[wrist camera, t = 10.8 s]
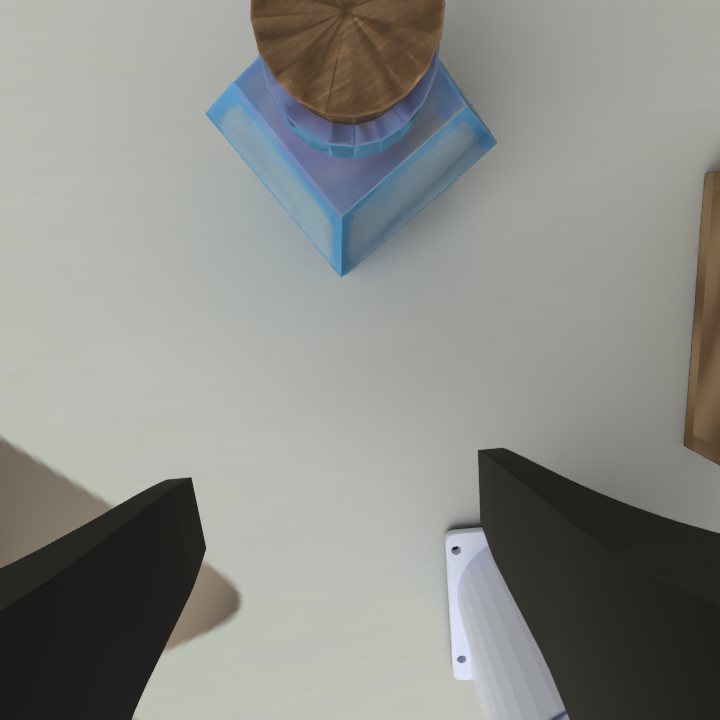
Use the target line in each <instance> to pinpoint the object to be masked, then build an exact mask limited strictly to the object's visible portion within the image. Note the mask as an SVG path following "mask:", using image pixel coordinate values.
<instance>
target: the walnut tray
mask: <svg viewBox="0 0 720 720" xmlns="http://www.w3.org/2000/svg"><path fill="white" fill-rule="evenodd" d="M684 446H685V447H687V448H689V449H691V450H692V451H694V452H696V453H698V454H700V455H702V456H703V457H705V458H707V459H709V460H711V461H713V462H714V463H716V464H718V465H720V170H719V171H715V172H712V173H708V174H705V183H704V196H703V209H702V222H701V234H700V247H699V260H698V273H697V286H696V299H695V311H694V324H693V337H692V350H691V363H690V375H689V388H688V401H687V414H686V427H685V439H684Z"/></svg>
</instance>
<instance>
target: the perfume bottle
mask: <svg viewBox="0 0 720 720" xmlns="http://www.w3.org/2000/svg"><path fill="white" fill-rule="evenodd" d="M444 8H445V0H251V22H252V26H253V30H254V34H255V38H256V42H257V46H258V50H259V57H258V58H257V59H256V60H255V61H254V62H253V63H252V64H251V65H250V66H249V67H248V68H247V69H246V70H245V71H244V72H243V73H242V74H241V75H240V76H239V77H238V78H237V79H236V80H235V81H234V82H233V83H232V84H231V85H230V87H229V88H228V89H227V90H226V91H225V92H224V93H223V94H222V95H221V96H220V98H219V99H218V100H217V101H216V102H215V103H214V104H213V105H212V106H211V108H210V109H209V110H208V111H207V112H206V113H205V114H206V115H207V116H208V117H209V119H210V120H211V121H212V122H213V123H214V125H215V126H216V127H217V128H218V129H219V131H220V132H221V133H222V134H223V136H224V137H225V138H226V139H227V140H228V142H229V143H230V144H231V145H232V146H233V148H234V149H235V150H236V151H237V152H238V154H239V155H240V156H241V157H242V158H243V160H244V161H245V162H246V163H247V164H248V166H249V167H250V168H251V169H252V171H253V172H254V173H255V174H256V175H257V177H258V178H259V179H260V180H261V181H262V183H263V184H264V185H265V186H266V187H267V189H268V190H269V191H270V192H271V193H272V195H273V196H274V197H275V198H276V199H277V201H278V202H279V203H280V204H281V205H282V207H283V208H284V209H285V210H286V212H287V213H288V214H289V215H290V216H291V218H292V219H293V220H294V221H295V222H296V224H297V225H298V226H299V227H300V228H301V230H302V231H303V232H304V233H305V234H306V236H307V237H308V238H309V239H310V240H311V242H312V243H313V244H314V245H315V246H316V248H317V249H318V250H319V251H320V253H321V254H322V255H323V256H324V257H325V259H326V260H327V261H328V262H329V263H330V265H331V266H332V267H333V268H334V269H335V271H336V272H337V273H338V274H339V275H340V277H342V276H344V275H346V274H347V273H348V272H349V271H351V270H352V269H353V268H354V267H355V266H356V265H358V264H359V263H360V262H361V261H362V260H363V259H365V258H366V257H367V256H368V255H369V254H370V253H372V252H373V251H374V250H375V249H376V248H377V247H379V246H380V245H381V244H382V243H383V242H384V241H386V240H387V239H388V238H389V237H390V236H391V235H393V234H394V233H395V232H396V231H397V230H398V229H400V228H401V227H402V226H403V225H404V224H405V223H407V222H408V221H409V220H410V219H411V218H412V217H414V216H415V215H416V214H417V213H418V212H419V211H421V210H422V209H423V208H424V207H425V206H426V205H428V204H429V203H430V202H431V201H432V200H433V199H435V198H436V197H437V196H438V195H439V194H440V193H442V192H443V191H444V190H445V189H446V188H447V187H449V186H450V185H451V184H452V183H453V182H454V181H455V180H456V179H458V178H459V177H460V176H461V175H462V174H463V173H464V172H465V171H466V170H468V169H469V168H470V167H471V166H472V165H473V164H474V163H475V162H476V161H478V160H479V159H480V158H481V157H482V156H483V155H484V154H485V153H486V152H487V151H489V150H490V149H491V148H492V147H493V146H494V145H495V144H496V143H497V141H496V140H495V138H494V137H493V136H492V134H491V133H490V131H489V130H488V128H487V127H486V126H485V124H484V123H483V121H482V120H481V118H480V117H479V116H478V114H477V113H476V111H475V110H474V108H473V107H472V106H471V104H470V103H469V101H468V100H467V98H466V97H465V96H464V94H463V93H462V91H461V90H460V88H459V87H458V86H457V84H456V83H455V81H454V80H453V78H452V77H451V76H450V74H449V73H448V71H447V70H446V68H445V67H444V66H443V64H442V63H441V61H440V60H439V58H438V51H439V42H440V39H441V34H442V26H443V17H444Z"/></svg>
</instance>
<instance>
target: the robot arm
mask: <svg viewBox="0 0 720 720" xmlns="http://www.w3.org/2000/svg"><path fill="white" fill-rule="evenodd" d="M478 462H479V493H480V523H481V526H482V527H479V528H468V529H456V530H451V531H449V532H447V534H446V535H445V552H446V569H447V586H448V603H449V620H450V637H451V655H452V669H453V674H454V677H455V678H456V679H459V680H472V679H473V682H474V685H475V689H476V693H477V696H478V700H479V704H480V707H481V711H482V714H483V718H484V720H720V533H716V532H712V531H709V530H705V529H701V528H698V527H694V526H691V525H687V524H684V523H681V522H677V521H674V520H671V519H668V518H665V517H662V516H659V515H656V514H653V513H650V512H647V511H645V510H642V509H639V508H636V507H633V506H630V505H628V504H625V503H622V502H620V501H617V500H615V499H612V498H610V497H608V496H605V495H603V494H600V493H598V492H596V491H593V490H591V489H589V488H586V487H584V486H582V485H580V484H578V483H575V482H573V481H571V480H569V479H567V478H565V477H563V476H561V475H559V474H557V473H555V472H552V471H550V470H548V469H546V468H544V467H542V466H540V465H538V464H536V463H535V462H533V461H531V460H529V459H527V458H525V457H522V456H520V455H518V454H516V453H514V452H512V451H510V450H507V449H504V448H497V449H486V450H478ZM455 546H458V547H459V548H458V549H456V550H452V548H453V547H455ZM205 551H206V545H205V540H204V536H203V531H202V526H201V521H200V517H199V512H198V507H197V502H196V497H195V493H194V488H193V483H192V478H191V477H190V478H180V479H169V480H165V481H163V482H160V483H158V484H156V485H154V486H152V487H150V488H148V489H146V490H145V491H143V492H141V493H139V494H137V495H136V496H134V497H132V498H130V499H129V500H127V501H125V502H123V503H122V504H120V505H118V506H116V507H115V508H113V509H111V510H109V511H108V512H106V513H104V514H103V515H101V516H99V517H97V518H96V519H94V520H92V521H90V522H89V523H87V524H85V525H83V526H81V527H80V528H78V529H76V530H74V531H72V532H70V533H69V534H67V535H65V536H63V537H61V538H59V539H58V540H56V541H54V542H52V543H51V544H48V545H47V546H45V547H43V548H41V549H39V550H37V551H35V552H33V553H31V554H29V555H27V556H25V557H23V558H21V559H19V560H17V561H15V562H13V563H11V564H9V565H7V566H5V567H3V568H0V720H131V719H132V717H133V714H134V712H135V709H136V707H137V705H138V702H139V700H140V698H141V696H142V693H143V691H144V689H145V687H146V684H147V682H148V680H149V678H150V676H151V674H152V672H153V670H154V668H155V666H156V664H157V662H158V660H159V658H160V656H161V654H162V652H163V650H164V648H165V646H166V643H167V641H168V639H169V637H170V635H171V633H172V631H173V629H174V627H175V625H176V623H177V621H178V619H179V617H180V615H181V612H182V611H183V608H184V606H185V604H186V602H187V600H188V598H189V596H190V594H191V591H192V589H193V587H194V584H195V581H196V578H197V576H198V572H199V570H200V567H201V563H202V560H203V557H204V554H205ZM461 655H462V656H461ZM459 656H461V657H459Z"/></svg>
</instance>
